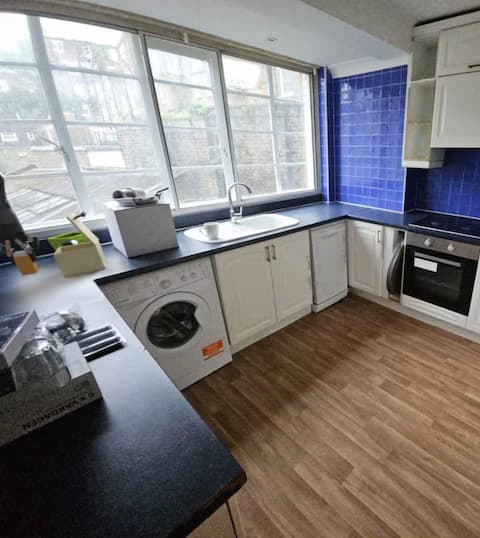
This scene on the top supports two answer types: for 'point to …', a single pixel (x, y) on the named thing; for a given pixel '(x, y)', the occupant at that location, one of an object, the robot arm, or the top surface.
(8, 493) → the top surface
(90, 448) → the top surface
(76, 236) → the green angular block
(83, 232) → the lid
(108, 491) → the top surface
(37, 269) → the orange block
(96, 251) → the bin
